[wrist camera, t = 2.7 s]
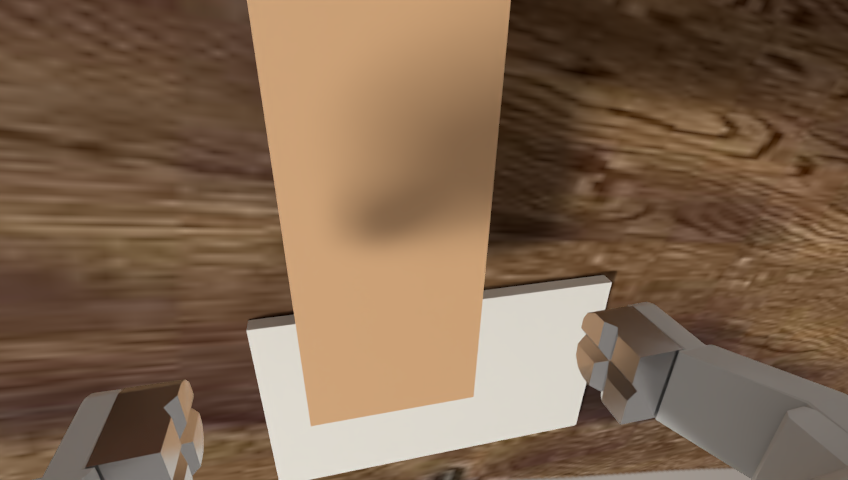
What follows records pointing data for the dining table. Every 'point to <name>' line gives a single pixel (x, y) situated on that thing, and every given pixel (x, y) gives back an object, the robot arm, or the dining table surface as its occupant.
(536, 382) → the felt mat
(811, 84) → the dining table surface
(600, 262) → the dining table surface
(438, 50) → the bench model
